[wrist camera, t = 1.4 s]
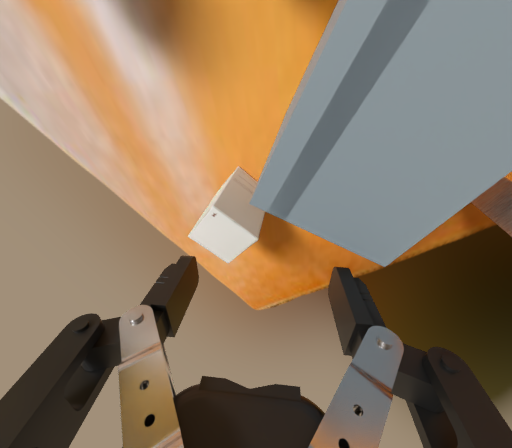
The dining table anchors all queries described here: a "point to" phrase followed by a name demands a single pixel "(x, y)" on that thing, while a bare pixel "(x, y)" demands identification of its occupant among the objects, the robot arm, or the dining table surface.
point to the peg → (497, 204)
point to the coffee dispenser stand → (394, 123)
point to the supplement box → (230, 218)
